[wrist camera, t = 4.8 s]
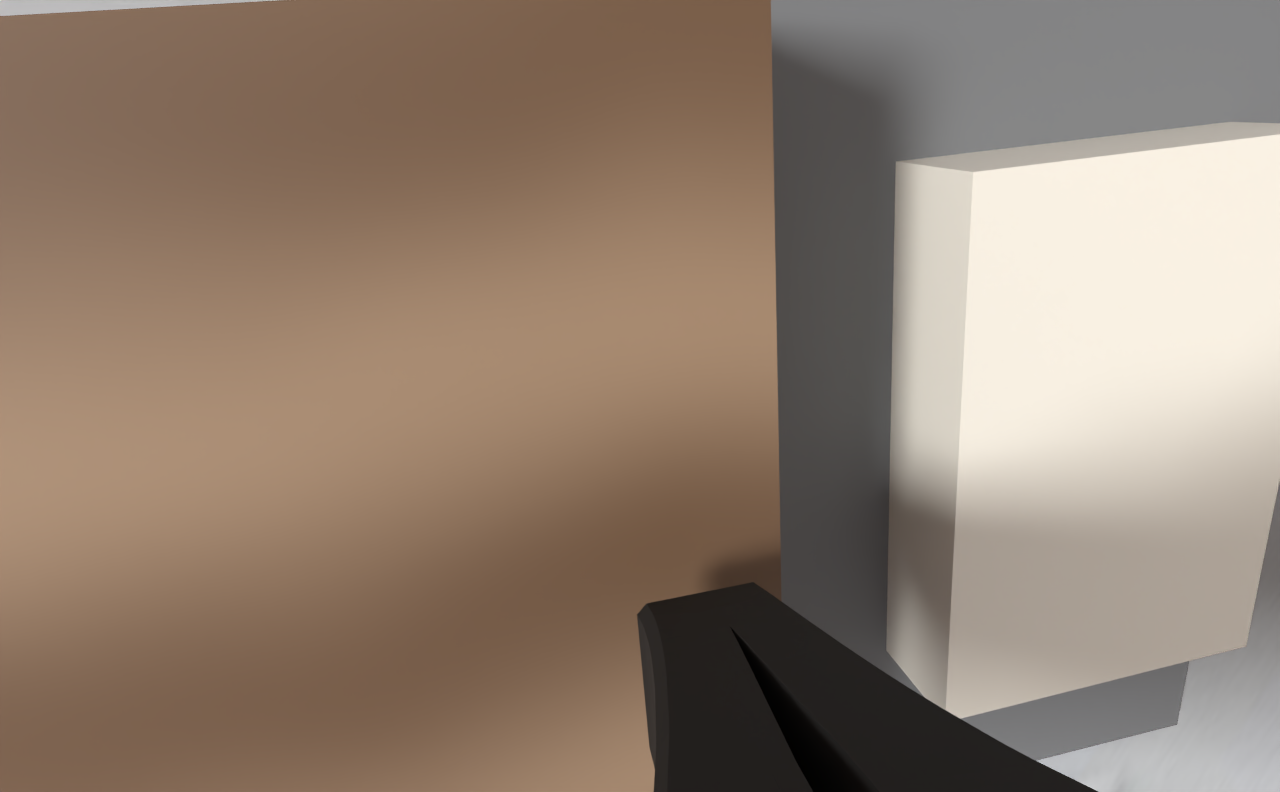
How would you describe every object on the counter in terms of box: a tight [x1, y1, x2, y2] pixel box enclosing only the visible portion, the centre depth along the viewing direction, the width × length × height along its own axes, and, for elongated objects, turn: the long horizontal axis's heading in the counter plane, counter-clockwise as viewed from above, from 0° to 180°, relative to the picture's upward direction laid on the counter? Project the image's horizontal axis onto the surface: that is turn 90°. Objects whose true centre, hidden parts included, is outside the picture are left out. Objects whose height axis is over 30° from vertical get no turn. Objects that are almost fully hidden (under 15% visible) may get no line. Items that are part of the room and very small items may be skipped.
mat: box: [771, 0, 1280, 761], centre depth 15 cm, size 16×10×1 cm, turn 4°
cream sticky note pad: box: [886, 122, 1280, 719], centre depth 14 cm, size 9×6×2 cm, turn 5°
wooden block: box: [0, 0, 782, 792], centre depth 11 cm, size 14×12×4 cm
